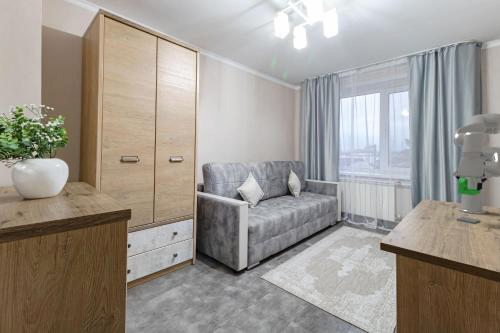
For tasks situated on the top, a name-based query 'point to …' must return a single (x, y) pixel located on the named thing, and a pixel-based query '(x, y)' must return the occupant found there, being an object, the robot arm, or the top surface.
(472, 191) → the mechanical part
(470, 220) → the dark rubber pad
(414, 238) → the top surface
